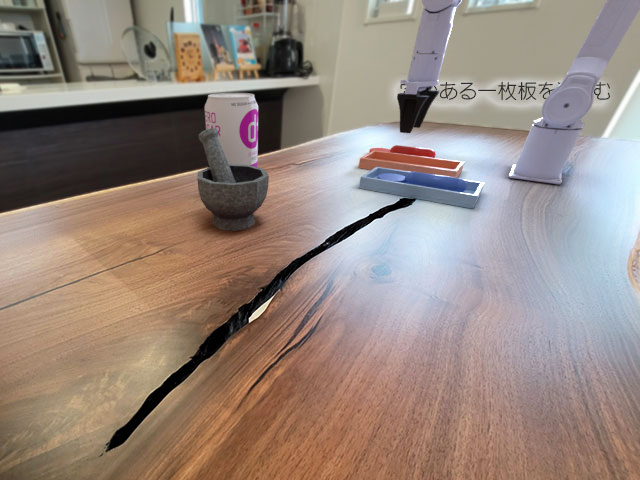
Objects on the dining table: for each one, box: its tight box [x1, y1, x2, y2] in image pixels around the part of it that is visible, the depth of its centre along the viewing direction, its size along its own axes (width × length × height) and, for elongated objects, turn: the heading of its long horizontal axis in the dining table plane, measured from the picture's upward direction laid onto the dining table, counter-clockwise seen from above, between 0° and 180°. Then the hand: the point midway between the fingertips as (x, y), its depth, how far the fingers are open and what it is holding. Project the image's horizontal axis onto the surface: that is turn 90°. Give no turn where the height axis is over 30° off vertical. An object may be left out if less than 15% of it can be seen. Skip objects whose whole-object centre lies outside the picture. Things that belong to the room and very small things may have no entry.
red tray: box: [357, 151, 465, 178], centre depth 73 cm, size 8×18×2 cm, turn 54°
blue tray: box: [358, 167, 485, 209], centre depth 62 cm, size 8×18×2 cm, turn 54°
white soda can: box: [204, 92, 259, 168], centre depth 58 cm, size 8×8×15 cm
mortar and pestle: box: [197, 128, 270, 232], centre depth 49 cm, size 11×9×12 cm
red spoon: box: [368, 144, 437, 158], centre depth 81 cm, size 14×5×3 cm, turn 54°
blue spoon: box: [377, 172, 467, 193], centre depth 61 cm, size 14×5×3 cm, turn 54°
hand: (410, 129), depth 78 cm, fingers open, 7 cm apart
